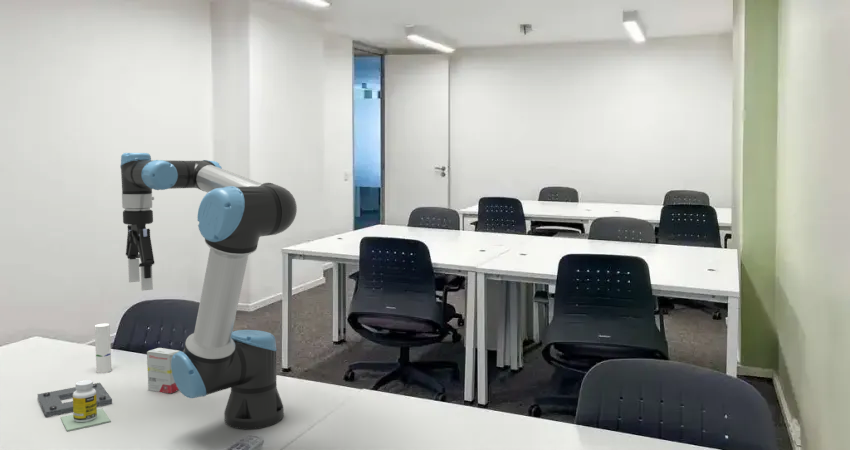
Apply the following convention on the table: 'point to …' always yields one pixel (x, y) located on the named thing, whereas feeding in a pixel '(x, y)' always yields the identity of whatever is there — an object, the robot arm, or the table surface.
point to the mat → (74, 425)
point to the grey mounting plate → (55, 407)
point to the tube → (103, 348)
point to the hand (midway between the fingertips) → (140, 285)
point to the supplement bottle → (84, 401)
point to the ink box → (161, 370)
